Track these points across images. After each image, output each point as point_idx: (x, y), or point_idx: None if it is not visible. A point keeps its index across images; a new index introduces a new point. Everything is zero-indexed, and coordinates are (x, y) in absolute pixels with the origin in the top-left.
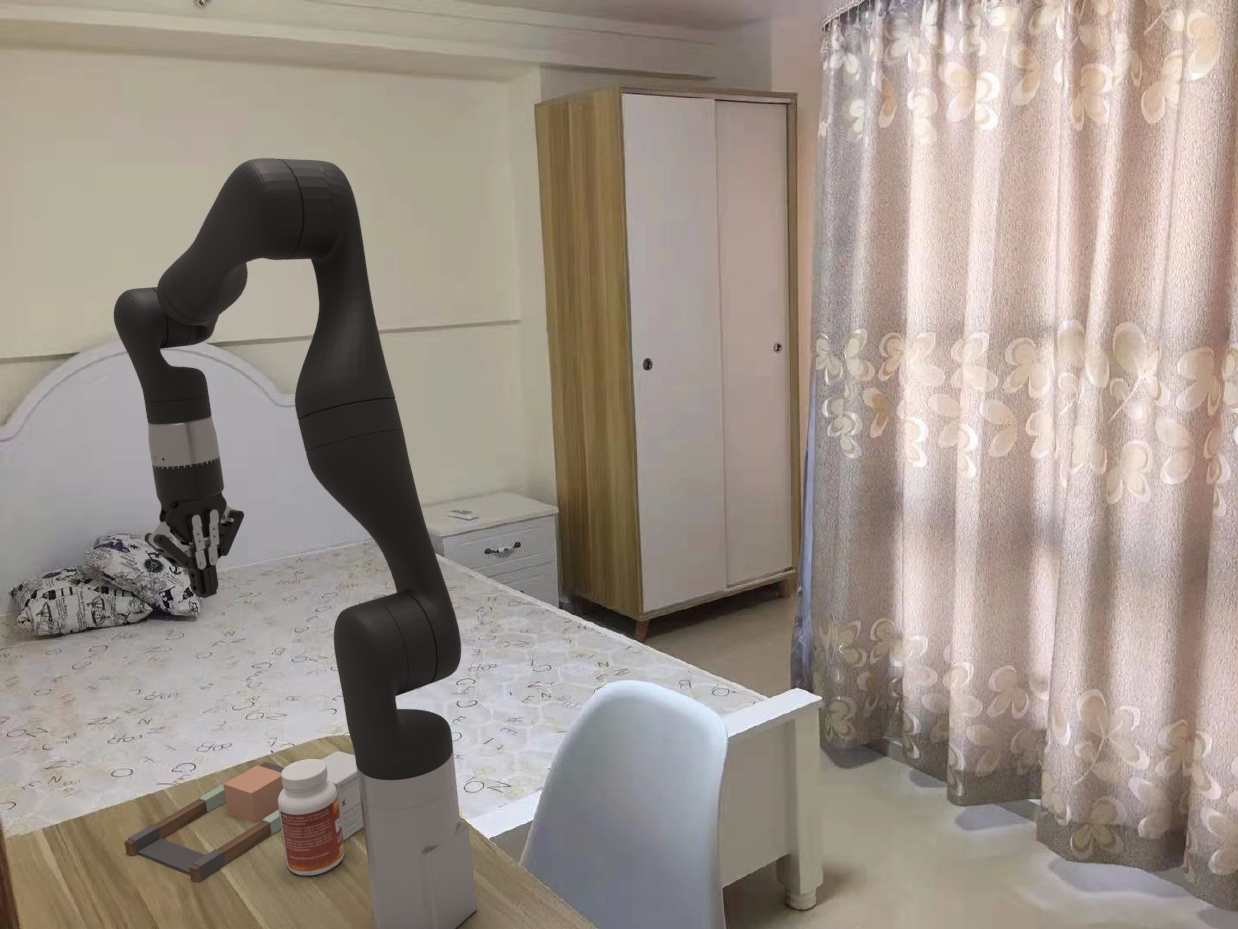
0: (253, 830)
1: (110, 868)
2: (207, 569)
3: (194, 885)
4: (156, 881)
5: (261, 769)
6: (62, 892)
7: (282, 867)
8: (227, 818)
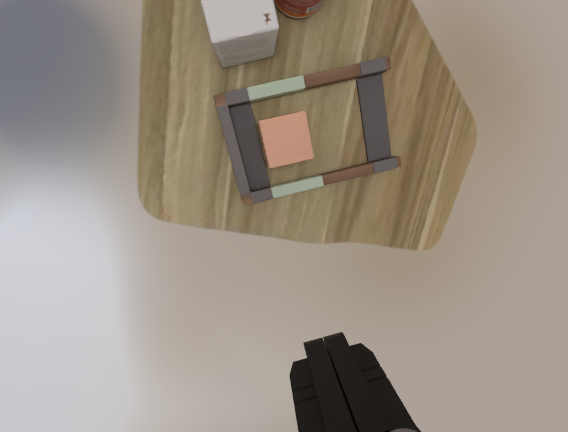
0: (320, 76)
1: (413, 153)
2: (362, 428)
3: None
4: (402, 97)
5: (271, 154)
6: (450, 149)
7: (323, 10)
8: None
